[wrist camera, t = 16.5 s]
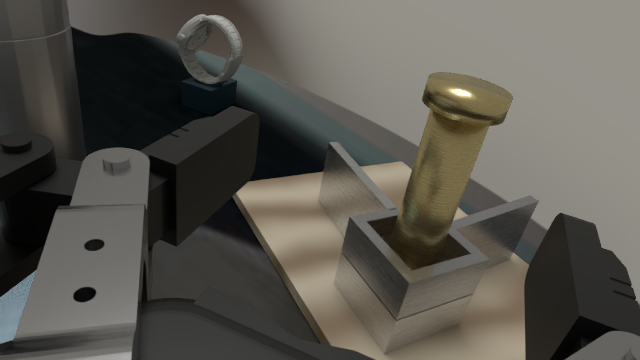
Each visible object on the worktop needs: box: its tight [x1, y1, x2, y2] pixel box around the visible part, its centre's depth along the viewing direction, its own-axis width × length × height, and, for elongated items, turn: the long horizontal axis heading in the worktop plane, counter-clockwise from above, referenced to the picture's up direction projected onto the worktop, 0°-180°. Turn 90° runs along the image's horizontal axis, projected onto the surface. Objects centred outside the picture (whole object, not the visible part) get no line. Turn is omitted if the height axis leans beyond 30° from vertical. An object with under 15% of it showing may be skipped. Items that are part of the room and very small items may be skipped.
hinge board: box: [232, 162, 529, 360], centre depth 37 cm, size 25×20×1 cm
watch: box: [176, 14, 243, 115], centre depth 56 cm, size 6×8×11 cm
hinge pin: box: [389, 72, 513, 270], centre depth 28 cm, size 4×4×16 cm
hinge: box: [318, 142, 538, 354], centre depth 36 cm, size 16×16×6 cm
